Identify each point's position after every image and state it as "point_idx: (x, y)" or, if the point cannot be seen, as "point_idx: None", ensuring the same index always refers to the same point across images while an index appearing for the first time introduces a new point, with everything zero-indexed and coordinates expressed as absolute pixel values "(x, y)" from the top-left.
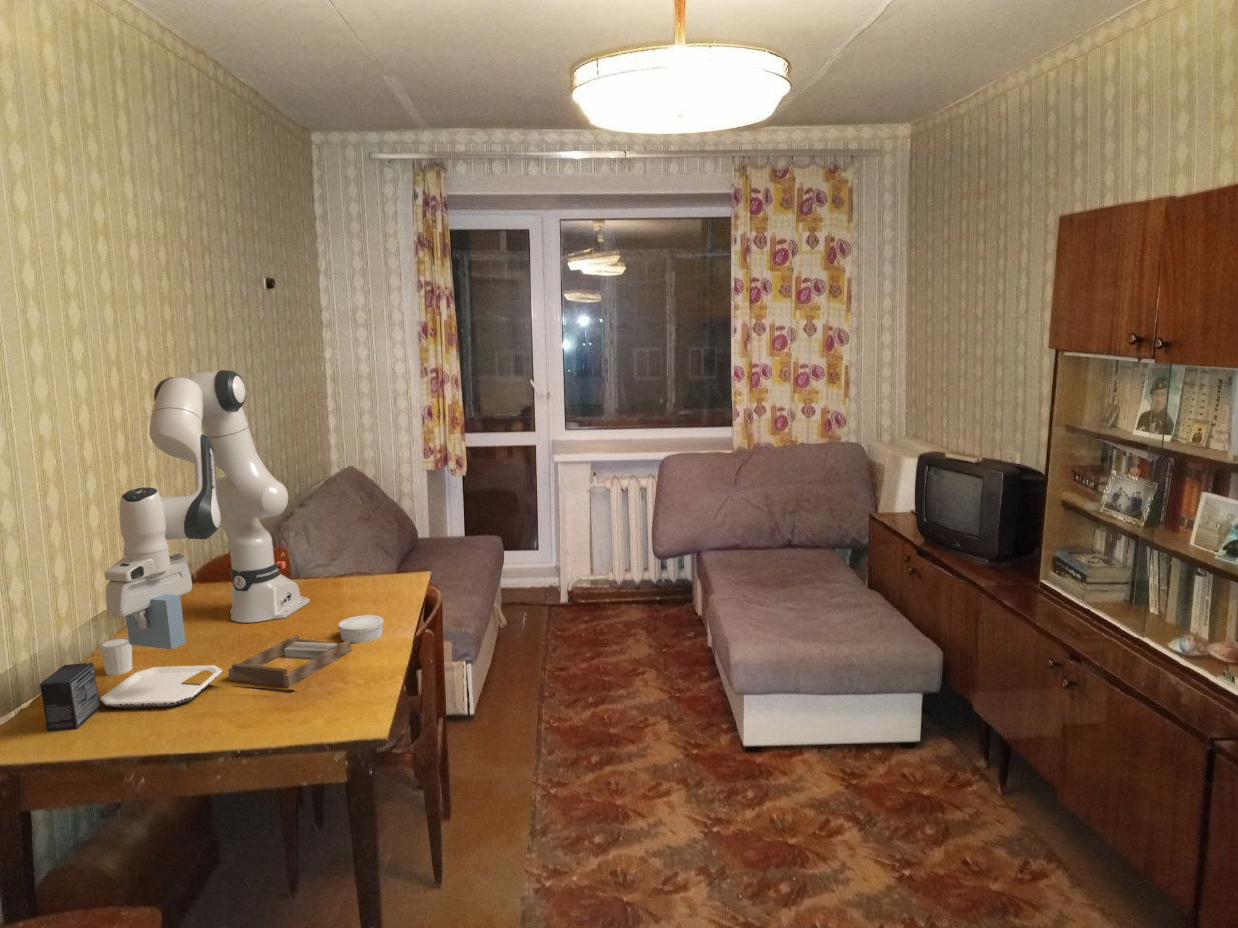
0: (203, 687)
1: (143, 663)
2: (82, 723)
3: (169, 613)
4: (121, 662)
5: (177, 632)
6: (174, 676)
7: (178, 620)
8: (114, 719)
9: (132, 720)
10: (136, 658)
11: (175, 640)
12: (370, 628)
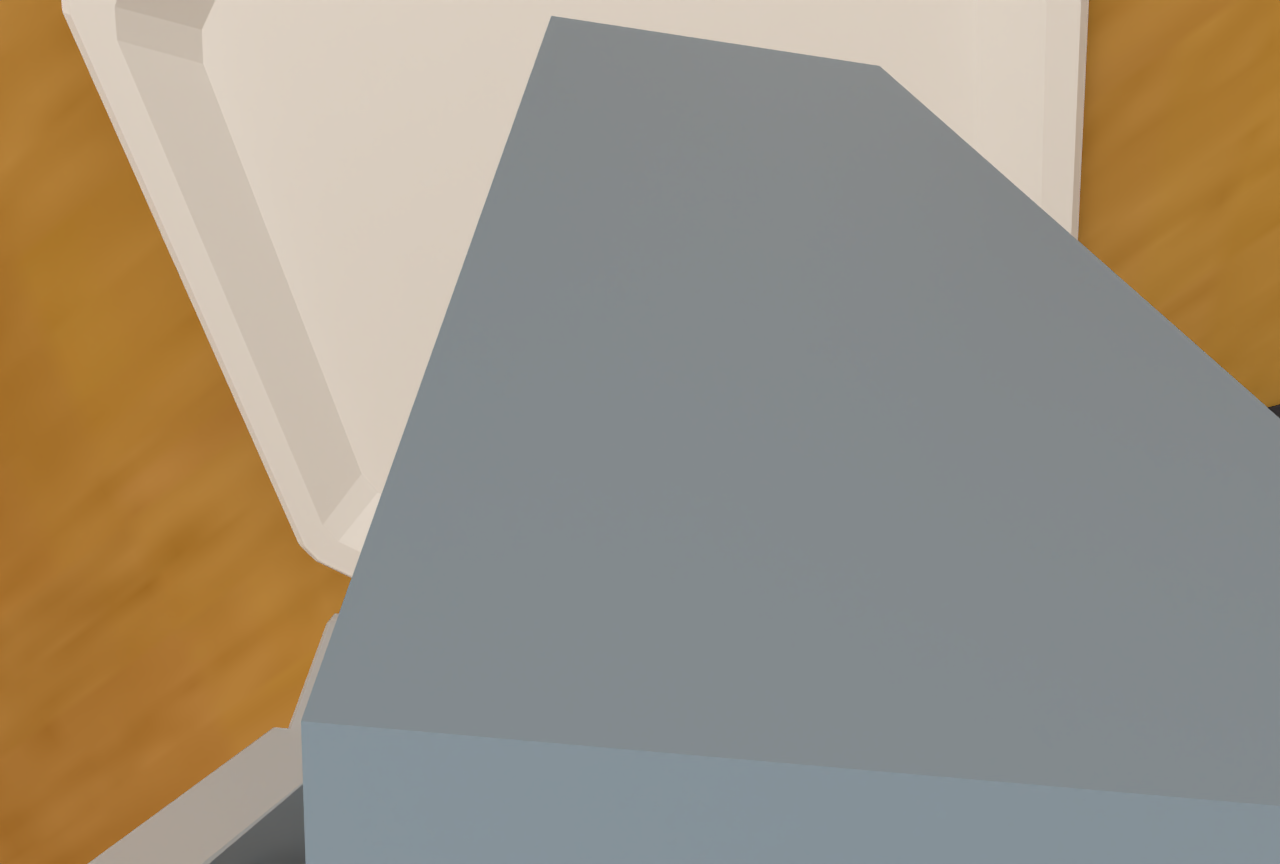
0: None
1: (174, 724)
2: (1278, 406)
3: (1104, 344)
4: None
5: (731, 101)
6: (387, 293)
7: (677, 169)
8: (1222, 225)
9: (1277, 43)
10: (119, 813)
11: (789, 77)
12: None
